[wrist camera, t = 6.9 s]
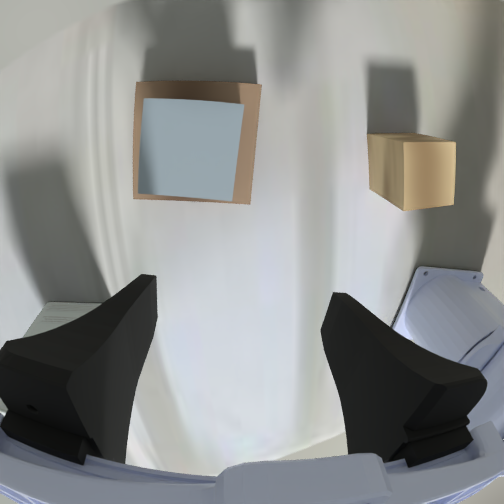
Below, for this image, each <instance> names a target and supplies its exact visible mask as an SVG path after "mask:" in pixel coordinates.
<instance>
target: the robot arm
mask: <svg viewBox="0 0 504 504" xmlns="http://www.w3.org/2000/svg"><path fill="white" fill-rule="evenodd" d="M424 272H426V273H425V274H424ZM482 278H483V273H482V272H478V271H467V270H456V269H446V268H435V267H424V266H421V267H418V268H417V270H416V272H415V274H414V277H413V280H412V282H411V285H410V287H409V290H408V292H407V295H406V297H405V300H404V302H403V305H402V307H401V309H400V312H399V314H398V316H397V318H396V321H395V323H394V325H393V327H392V328H391V327H389V326H388V325H387V324H385V323H384V322H383V321H381V320H380V319H379V318H378V317H376V316H375V315H374V314H373V313H371V312H370V311H369V310H368V309H366V308H365V307H364V306H363V305H362V304H360V303H359V302H358V301H357V300H355V299H354V298H353V297H351V296H350V295H348V294H347V293H337V292H333V294H332V297H331V300H330V303H329V306H328V310H327V313H326V316H325V319H324V322H323V325H322V327H321V336H322V342H323V347H324V351H325V354H326V357H327V360H328V363H329V366H330V369H331V372H332V375H333V378H334V381H335V384H336V387H337V390H338V393H339V397H340V401H341V406H342V411H343V416H344V423H345V429H346V437H347V447H348V455H343V456H334V457H325V458H315V459H302V460H283V461H260V462H249V463H242V464H239V465H235V466H232V467H228V468H226V469H225V470H224V471H223V472H222V473H221V474H220V475H219V476H217V477H215V476H202V475H191V474H182V473H174V472H166V471H160V470H153V469H147V468H142V467H137V466H132V465H127V464H125V459H126V448H127V440H128V432H129V424H130V418H131V412H132V406H133V401H134V396H135V391H136V387H137V383H138V379H139V376H140V374H141V371H142V368H143V365H144V362H145V359H146V356H147V353H148V351H149V348H150V345H151V342H152V339H153V336H154V331H155V327H156V322H157V317H158V315H157V282H156V276H154V275H146V274H141V275H140V276H138V277H137V278H136V279H135V280H133V281H132V282H131V283H130V284H128V285H127V286H126V287H124V288H123V289H122V290H121V291H119V292H118V293H117V294H115V295H114V296H113V297H111V298H110V299H108V300H107V301H105V302H104V303H102V304H101V305H99V306H98V307H96V308H95V309H93V310H92V311H90V312H88V313H86V314H85V315H83V316H81V317H79V318H77V319H75V320H73V321H71V322H68V323H66V324H64V325H61V326H59V327H57V328H54V329H52V330H49V331H46V332H43V333H40V334H36V335H33V336H29V337H24V338H20V339H15V340H10V341H6V343H5V344H4V345H3V347H2V348H1V350H0V398H1V399H2V401H3V403H4V404H5V406H6V407H7V409H8V410H7V412H6V414H5V416H4V415H3V414H1V413H0V493H1V494H2V495H4V496H6V497H8V498H9V499H11V500H13V501H15V502H17V503H19V504H457V503H459V502H461V501H463V500H464V499H467V498H468V497H470V496H472V495H474V494H476V493H477V492H479V491H480V490H481V489H483V488H484V487H485V486H487V485H488V484H489V483H491V482H492V481H493V480H495V479H496V478H497V477H499V476H504V440H503V439H504V304H503V303H502V302H501V301H499V300H498V299H497V298H496V297H495V296H494V295H493V294H492V293H491V292H490V291H489V290H488V289H487V288H486V287H485V286H484V285H482V284H481V281H482ZM410 340H414V342H415V343H416V344H415V343H413V342H412V341H410Z"/></svg>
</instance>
